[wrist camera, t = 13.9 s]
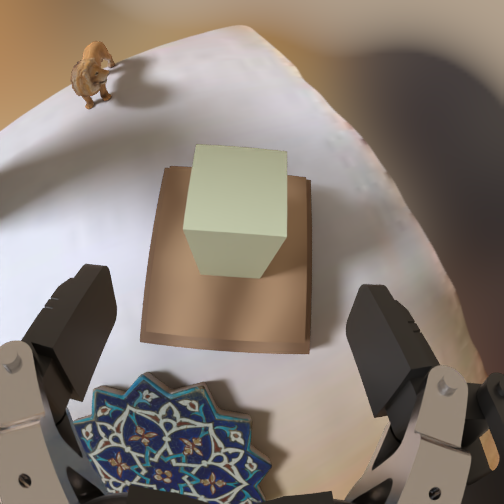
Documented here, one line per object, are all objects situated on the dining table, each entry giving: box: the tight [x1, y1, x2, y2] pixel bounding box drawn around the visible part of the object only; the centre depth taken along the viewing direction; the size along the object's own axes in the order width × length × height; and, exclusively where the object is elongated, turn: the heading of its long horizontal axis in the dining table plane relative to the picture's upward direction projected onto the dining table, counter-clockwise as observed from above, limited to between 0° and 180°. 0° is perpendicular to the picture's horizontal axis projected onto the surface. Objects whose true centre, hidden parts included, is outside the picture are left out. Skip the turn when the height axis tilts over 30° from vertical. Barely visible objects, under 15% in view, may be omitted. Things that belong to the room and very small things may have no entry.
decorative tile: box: [73, 372, 272, 504], centre depth 21 cm, size 20×20×2 cm
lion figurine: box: [70, 41, 115, 109], centre depth 28 cm, size 15×5×9 cm, turn 22°
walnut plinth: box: [140, 166, 312, 354], centre depth 25 cm, size 14×16×5 cm
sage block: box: [183, 144, 287, 279], centre depth 18 cm, size 4×4×10 cm
